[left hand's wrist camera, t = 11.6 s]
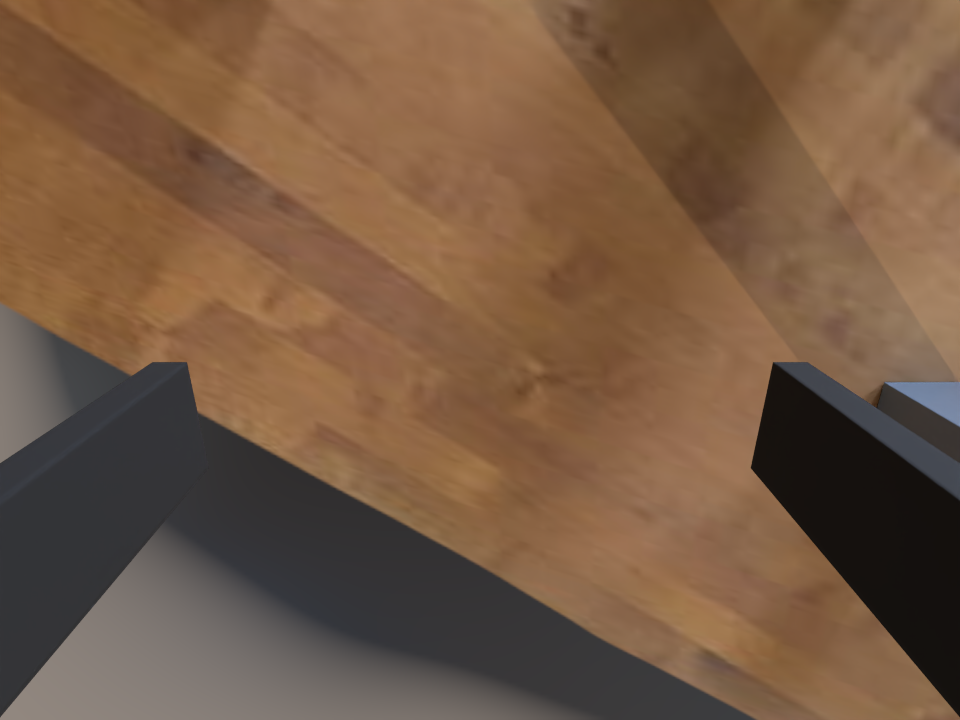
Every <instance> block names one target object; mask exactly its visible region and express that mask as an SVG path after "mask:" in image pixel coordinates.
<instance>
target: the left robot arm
mask: <svg viewBox="0 0 960 720" xmlns="http://www.w3.org/2000/svg"><path fill="white" fill-rule="evenodd" d="M208 469H209V465H208V460H207V455H206V451H205V446H204V441H203V436H202V432H201V427H200V423H199V418H198V413H197V408H196V403H195V399H194V394H193V389H192V384H191V380H190V375H189V370H188V365H187V362H152V363H151V364H149V365H148V366H146V367H145V368H143V369H142V370H140V371H139V372H137V373H136V374H134V375H133V376H131V377H130V378H128V379H127V380H125V381H124V382H122V383H121V384H119V385H118V386H116V387H115V388H113V389H112V390H110V391H109V392H107V393H106V394H104V395H103V396H101V397H100V398H98V399H97V400H95V401H94V402H92V403H91V404H89V405H88V406H86V407H85V408H83V409H81V410H80V411H78V412H77V413H75V414H74V415H73V416H71V417H70V418H68V419H66V420H65V421H64V422H62V423H60V424H59V425H57V426H56V427H54V428H53V429H51V430H50V431H48V432H47V433H45V434H44V435H42V436H41V437H39V438H38V439H36V440H35V441H33V442H32V443H30V444H29V445H27V446H26V447H24V448H23V449H21V450H20V451H18V452H17V453H15V454H14V455H12V456H11V457H9V458H8V459H6V460H5V461H3V462H2V463H0V717H1V716H2V714H3V713H4V712H5V711H6V710H7V708H8V707H9V706H10V705H11V704H12V702H13V701H14V700H15V699H16V698H17V696H18V695H19V694H20V693H21V692H22V691H23V689H24V688H25V687H26V686H27V685H28V683H29V682H30V681H31V680H32V679H33V677H34V676H35V675H36V674H37V673H38V671H39V670H40V669H41V668H42V667H43V666H44V664H45V663H46V662H47V661H48V660H49V658H50V657H51V656H52V655H53V653H54V652H55V651H56V650H57V649H58V648H59V646H60V645H61V644H62V643H63V642H64V640H65V639H66V638H67V637H68V636H69V634H70V633H71V632H72V631H73V630H74V629H75V627H76V626H77V625H78V624H79V623H80V621H81V620H82V619H83V618H84V617H85V615H86V614H87V613H88V612H89V611H90V609H91V608H92V607H93V606H94V605H95V604H96V602H97V601H98V600H99V599H100V598H101V596H102V595H103V594H104V593H105V592H106V590H107V589H108V588H109V587H110V586H111V584H112V583H113V582H114V581H115V580H116V578H117V577H118V576H119V575H120V574H121V573H122V571H123V570H124V569H125V568H126V567H127V565H128V564H129V563H130V562H131V561H132V559H133V558H134V557H135V556H136V555H137V553H138V552H139V551H140V550H141V549H142V547H143V546H144V545H145V544H146V543H147V541H148V540H149V539H150V538H151V537H152V536H153V534H154V533H155V532H156V531H157V530H158V528H159V527H160V526H161V525H162V524H163V522H164V521H165V520H166V519H167V518H168V516H169V515H170V514H171V513H172V512H173V511H174V509H175V508H176V507H177V506H178V505H179V503H180V502H181V501H182V500H183V499H184V497H185V496H186V495H187V494H188V493H189V491H190V490H191V489H192V488H193V487H194V485H195V484H196V483H197V482H198V481H199V480H200V478H201V477H202V476H203V475H204V474H205V472H206V471H207V470H208ZM751 469H752V470H753V471H754V472H755V474H756V475H757V476H758V477H759V478H760V480H761V481H762V482H763V483H764V484H765V486H766V487H767V488H768V489H769V490H770V491H771V493H772V494H773V495H774V496H775V497H776V499H777V500H778V501H779V502H780V503H781V505H782V506H783V507H784V508H785V509H786V511H787V512H788V513H789V514H790V515H791V517H792V518H793V519H794V520H795V521H796V522H797V524H798V525H799V526H800V527H801V528H802V530H803V531H804V532H805V533H806V534H807V536H808V537H809V538H810V539H811V540H812V542H813V543H814V544H815V545H816V546H817V547H818V549H819V550H820V551H821V552H822V553H823V555H824V556H825V557H826V558H827V559H828V561H829V562H830V563H831V564H832V565H833V567H834V568H835V569H836V570H837V571H838V573H839V574H840V575H841V576H842V577H843V578H844V580H845V581H846V582H847V583H848V584H849V586H850V587H851V588H852V589H853V590H854V592H855V593H856V594H857V595H858V596H859V598H860V599H861V600H862V601H863V602H864V604H865V605H866V606H867V607H868V608H869V609H870V611H871V612H872V613H873V614H874V615H875V617H876V618H877V619H878V620H879V621H880V623H881V624H882V625H883V626H884V627H885V629H886V630H887V631H888V632H889V633H890V635H891V636H892V637H893V638H894V639H895V640H896V642H897V643H898V644H899V645H900V646H901V648H902V649H903V650H904V651H905V652H906V654H907V655H908V656H909V657H910V658H911V660H912V661H913V662H914V663H915V664H916V666H917V667H918V668H919V669H920V670H921V671H922V673H923V674H924V675H925V676H926V677H927V679H928V680H929V681H930V682H931V683H932V685H933V686H934V687H935V688H936V689H937V691H938V692H939V693H940V694H941V695H942V696H943V698H944V699H945V700H946V701H947V702H948V704H949V705H950V706H951V707H952V708H953V710H954V711H955V712H956V713H957V714H958V716H959V717H960V463H958V462H957V461H955V460H954V459H952V458H951V457H949V456H948V455H946V454H945V453H943V452H942V451H940V450H939V449H937V448H936V447H934V446H933V445H931V444H930V443H928V442H927V441H925V440H924V439H922V438H921V437H919V436H918V435H916V434H915V433H913V432H912V431H910V430H909V429H907V428H906V427H904V426H903V425H901V424H900V423H898V422H897V421H895V420H894V419H892V418H891V417H889V416H888V415H886V414H885V413H883V412H882V411H880V410H879V409H877V408H875V407H874V406H872V405H871V404H869V403H868V402H866V401H865V400H863V399H862V398H860V397H859V396H857V395H856V394H854V393H853V392H851V391H850V390H848V389H847V388H845V387H844V386H842V385H841V384H839V383H838V382H836V381H835V380H833V379H832V378H830V377H829V376H827V375H826V374H824V373H823V372H821V371H820V370H818V369H817V368H815V367H814V366H812V365H811V364H809V363H808V362H773V365H772V370H771V375H770V380H769V384H768V389H767V394H766V399H765V403H764V408H763V413H762V417H761V422H760V427H759V432H758V436H757V441H756V446H755V451H754V455H753V460H752V465H751Z"/></svg>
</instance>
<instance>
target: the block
mask: <svg viewBox="0 0 960 720" xmlns="http://www.w3.org/2000/svg"><path fill="white" fill-rule="evenodd" d="M877 409H879V410H880V411H882V412H883V413H885V414H886V415H888V416H889V417H891V418H892V419H894V420H895V421H897V422H898V423H900V424H901V425H903V426H904V427H906V428H907V429H909V430H910V431H912V432H913V433H915V434H916V435H918V436H919V437H921V438H922V439H924V440H925V441H927V442H928V443H930V444H931V445H933V446H934V447H936V448H937V449H939V450H940V451H942V452H943V453H945V454H946V455H948V456H949V457H951V458H952V459H954V460H955V461H957V462H958V463H960V382H885V383H884V385H883V389H882V392H881V396H880V399H879V403H878V406H877Z"/></svg>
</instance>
